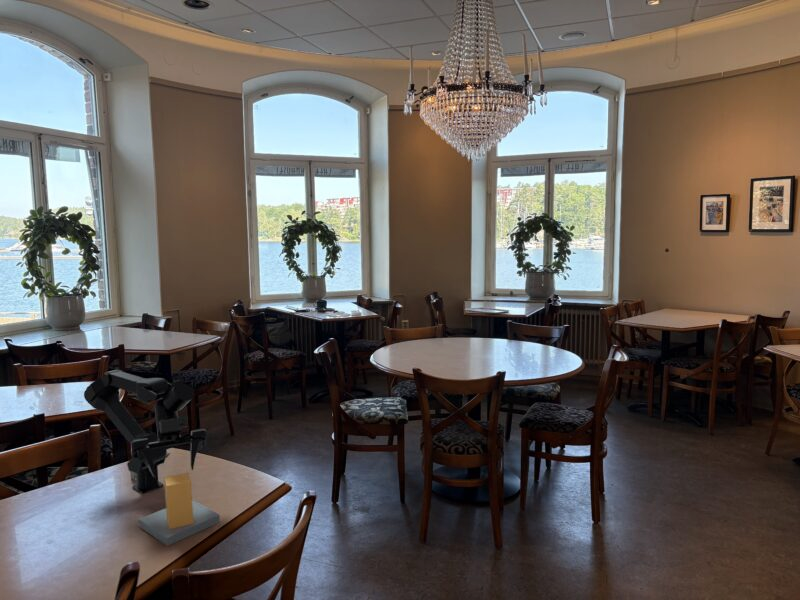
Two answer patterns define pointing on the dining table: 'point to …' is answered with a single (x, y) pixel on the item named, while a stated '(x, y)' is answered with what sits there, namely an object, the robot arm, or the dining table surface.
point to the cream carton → (178, 500)
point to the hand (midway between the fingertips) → (173, 473)
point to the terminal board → (160, 530)
